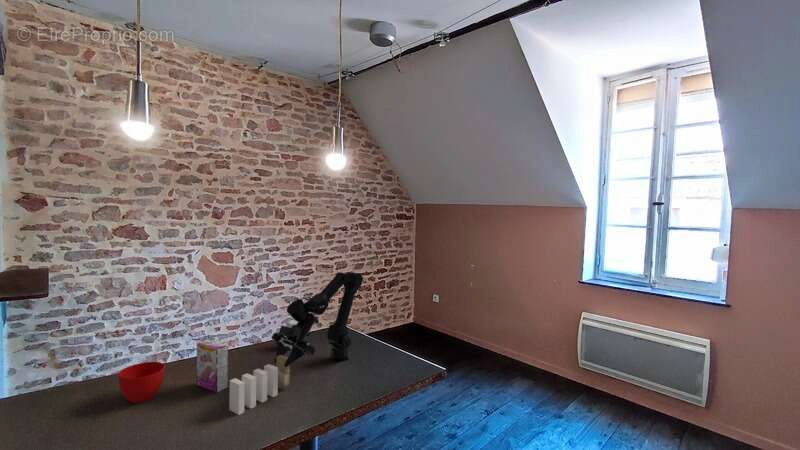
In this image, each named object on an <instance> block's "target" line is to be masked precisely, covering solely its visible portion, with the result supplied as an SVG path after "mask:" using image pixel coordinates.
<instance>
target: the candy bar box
mask: <svg viewBox="0 0 800 450" xmlns="http://www.w3.org/2000/svg"><path fill="white" fill-rule="evenodd" d="M228 367H229V345H228V344H225V343H222V342H219V341H215V340H212V339H208V338H207V339H204V340H201V341H199V342H197V343H196V386H198V387H200V388H203V389H206V390H208V391H211V392H214V393H216V394H218V393H220V392H221V391H223V390H226V389H227V388H228V387H229V386H228V385H229V384H228V383H229V380H228V375H229V373H228V372H229V368H228Z"/></svg>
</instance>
